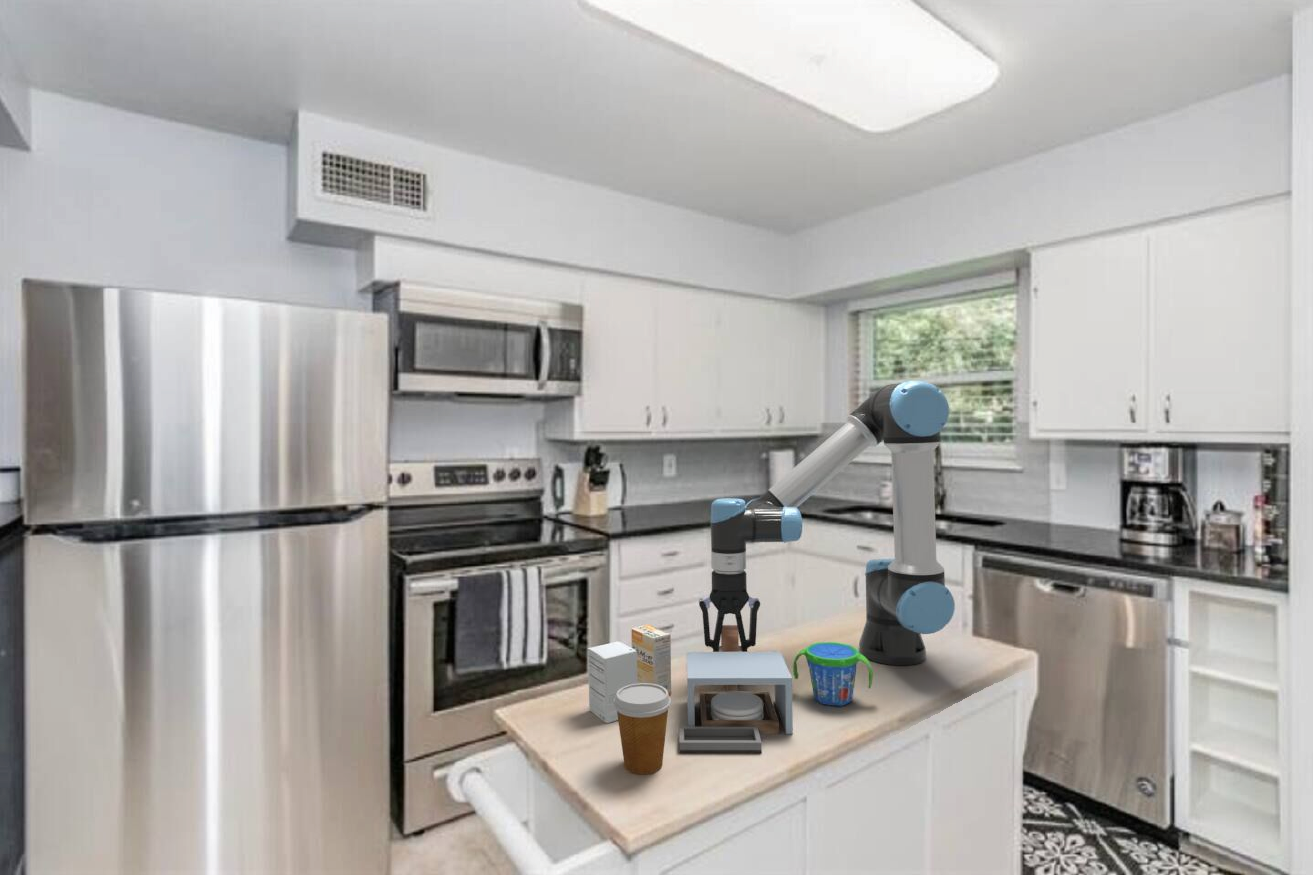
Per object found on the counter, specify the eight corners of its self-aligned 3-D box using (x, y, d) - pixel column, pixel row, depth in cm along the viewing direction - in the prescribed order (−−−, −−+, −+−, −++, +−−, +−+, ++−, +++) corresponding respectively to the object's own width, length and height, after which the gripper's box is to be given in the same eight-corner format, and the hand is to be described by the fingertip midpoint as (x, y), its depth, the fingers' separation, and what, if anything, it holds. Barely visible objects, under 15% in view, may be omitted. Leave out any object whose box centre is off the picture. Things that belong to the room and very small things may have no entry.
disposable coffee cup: (645, 745, 117) (644, 677, 117) (684, 764, 110) (682, 692, 110) (602, 764, 111) (601, 693, 111) (641, 786, 104) (639, 710, 104)
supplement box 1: (620, 701, 136) (619, 640, 136) (639, 714, 130) (638, 650, 129) (588, 710, 132) (586, 647, 132) (605, 724, 126) (604, 657, 125)
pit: (757, 736, 120) (757, 726, 120) (761, 752, 114) (761, 742, 114) (679, 736, 120) (679, 726, 120) (679, 752, 114) (679, 742, 114)
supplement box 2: (630, 688, 142) (629, 627, 142) (649, 683, 145) (648, 623, 145) (653, 701, 136) (652, 637, 136) (672, 695, 139) (671, 632, 138)
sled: (761, 679, 147) (761, 624, 146) (779, 733, 121) (778, 667, 121) (698, 679, 147) (697, 625, 147) (701, 733, 121) (700, 668, 121)
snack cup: (787, 702, 134) (786, 651, 134) (802, 683, 144) (802, 636, 143) (866, 717, 127) (866, 664, 127) (877, 697, 136) (877, 647, 136)
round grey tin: (736, 735, 121) (735, 716, 121) (700, 716, 129) (700, 698, 129) (774, 719, 127) (774, 701, 127) (737, 702, 135) (737, 685, 135)
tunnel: (781, 701, 135) (780, 651, 134) (792, 733, 121) (792, 677, 120) (687, 701, 135) (686, 651, 135) (688, 733, 121) (687, 678, 121)
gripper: (690, 574, 141) (692, 684, 142) (769, 573, 141) (771, 684, 141) (690, 566, 149) (691, 671, 149) (765, 566, 148) (766, 671, 148)
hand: (730, 677), depth 145 cm, fingers closed on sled, 3 cm apart
